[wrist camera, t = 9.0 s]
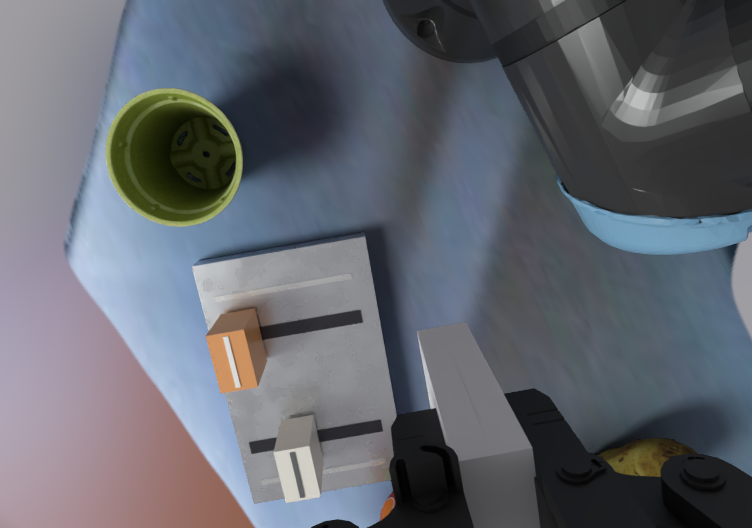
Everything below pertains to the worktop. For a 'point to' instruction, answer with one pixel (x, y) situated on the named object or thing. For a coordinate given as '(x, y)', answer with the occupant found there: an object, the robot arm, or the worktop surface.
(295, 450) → the fader far
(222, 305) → the console
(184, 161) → the plant pot
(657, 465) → the potato
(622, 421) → the worktop surface
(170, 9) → the worktop surface
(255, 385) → the fader near
